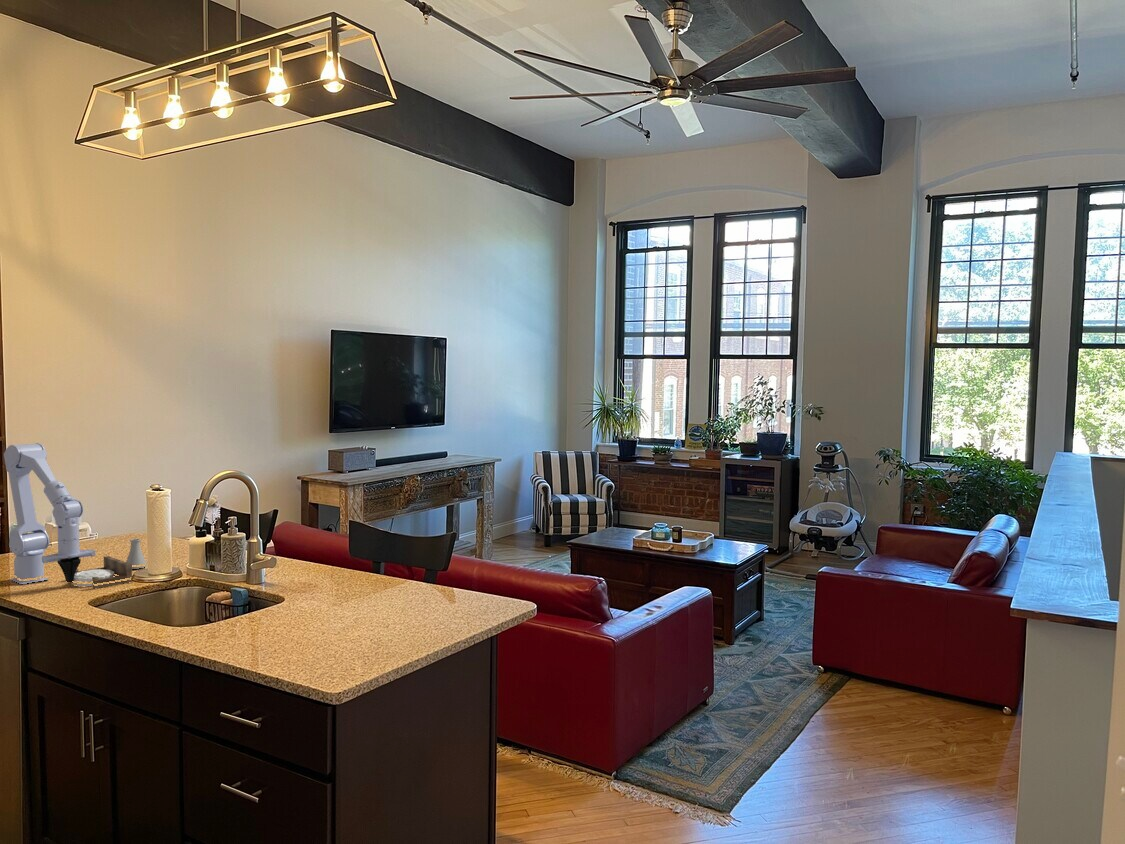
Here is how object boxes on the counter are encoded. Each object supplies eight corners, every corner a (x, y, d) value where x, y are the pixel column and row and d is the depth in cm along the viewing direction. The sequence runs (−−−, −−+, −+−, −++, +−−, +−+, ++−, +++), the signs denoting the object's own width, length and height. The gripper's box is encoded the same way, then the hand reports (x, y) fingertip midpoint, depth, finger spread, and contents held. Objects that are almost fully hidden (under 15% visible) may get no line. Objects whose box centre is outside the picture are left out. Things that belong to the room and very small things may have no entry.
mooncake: (74, 590, 256) (74, 578, 256) (69, 582, 265) (68, 571, 265) (118, 584, 263) (117, 573, 263) (111, 577, 273) (110, 566, 272)
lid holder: (71, 579, 267) (70, 561, 267) (108, 573, 276) (108, 556, 276) (93, 589, 256) (93, 570, 255) (132, 582, 264) (131, 564, 264)
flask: (151, 566, 288) (151, 537, 287) (139, 571, 281) (138, 541, 280) (132, 565, 288) (131, 537, 288) (119, 570, 281) (118, 541, 281)
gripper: (47, 544, 250) (48, 588, 251) (98, 537, 261) (99, 580, 262) (38, 541, 254) (39, 584, 255) (89, 534, 265) (90, 576, 266)
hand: (69, 582), depth 259 cm, fingers closed
